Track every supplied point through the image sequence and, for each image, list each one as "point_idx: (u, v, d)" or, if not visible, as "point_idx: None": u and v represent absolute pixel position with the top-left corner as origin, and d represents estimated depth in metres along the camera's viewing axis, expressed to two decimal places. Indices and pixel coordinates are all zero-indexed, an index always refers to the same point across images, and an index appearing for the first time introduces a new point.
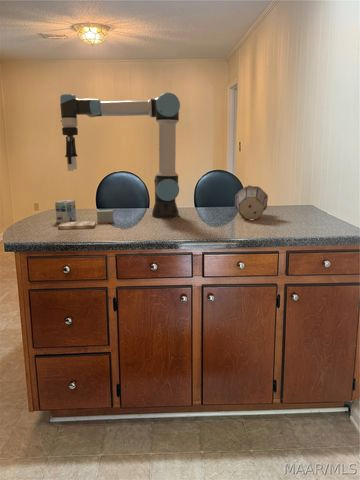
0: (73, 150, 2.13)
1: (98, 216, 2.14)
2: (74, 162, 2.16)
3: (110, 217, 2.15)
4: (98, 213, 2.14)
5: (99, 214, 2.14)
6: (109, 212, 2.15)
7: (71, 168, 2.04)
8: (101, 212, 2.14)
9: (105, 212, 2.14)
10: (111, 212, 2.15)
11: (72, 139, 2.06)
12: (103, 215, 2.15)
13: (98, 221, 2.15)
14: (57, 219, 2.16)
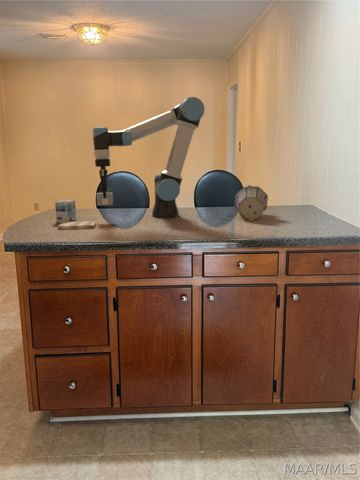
0: None
1: (98, 198, 2.12)
2: None
3: (110, 199, 2.13)
4: (98, 195, 2.12)
5: (98, 196, 2.12)
6: (108, 194, 2.13)
7: (106, 202, 2.13)
8: (101, 194, 2.12)
9: None
10: (111, 194, 2.13)
11: (105, 171, 2.10)
12: None
13: (98, 204, 2.13)
14: (57, 219, 2.16)
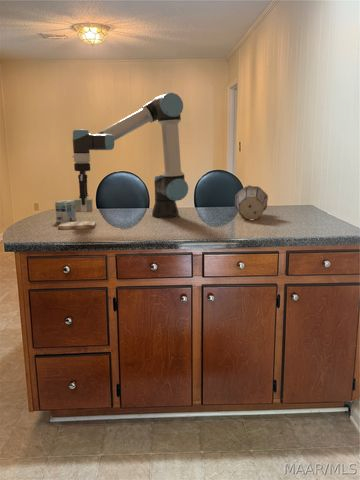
0: (84, 188, 2.03)
1: (76, 205, 2.00)
2: None
3: (89, 206, 2.01)
4: (76, 201, 2.00)
5: (76, 202, 2.00)
6: (87, 200, 2.00)
7: (84, 209, 2.00)
8: (79, 200, 2.00)
9: None
10: (90, 201, 2.00)
11: (84, 176, 1.98)
12: None
13: (76, 210, 2.00)
14: (57, 219, 2.16)
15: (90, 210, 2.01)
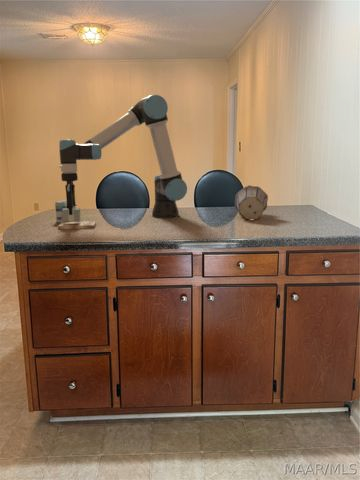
0: (72, 197, 2.04)
1: (63, 214, 2.00)
2: None
3: (76, 216, 2.01)
4: (63, 211, 2.00)
5: (64, 212, 2.00)
6: (75, 210, 2.00)
7: (72, 219, 2.00)
8: (66, 210, 2.00)
9: None
10: (77, 210, 2.01)
11: (72, 186, 1.98)
12: None
13: (63, 220, 2.01)
14: (57, 219, 2.16)
15: (78, 220, 2.02)
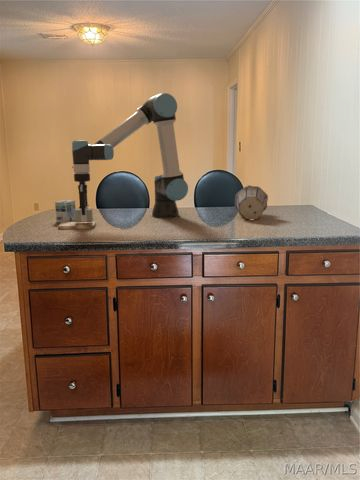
0: (84, 198, 2.04)
1: (76, 215, 2.01)
2: None
3: (89, 216, 2.02)
4: (76, 212, 2.01)
5: (77, 213, 2.01)
6: (87, 210, 2.01)
7: (85, 219, 2.01)
8: (79, 211, 2.01)
9: None
10: (90, 211, 2.01)
11: (84, 186, 1.99)
12: None
13: (76, 220, 2.02)
14: (57, 219, 2.16)
15: (90, 220, 2.02)
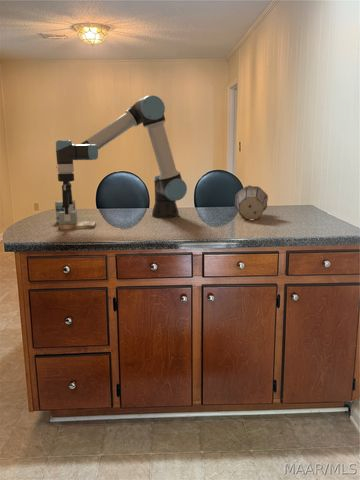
0: (69, 197, 2.05)
1: (60, 218, 2.00)
2: (70, 210, 2.07)
3: (73, 219, 2.01)
4: (60, 214, 2.00)
5: (61, 215, 2.00)
6: (71, 213, 2.01)
7: (68, 218, 1.98)
8: (63, 213, 2.00)
9: None
10: (74, 213, 2.01)
11: (68, 186, 1.98)
12: None
13: (60, 223, 2.01)
14: (57, 219, 2.16)
15: (74, 223, 2.02)
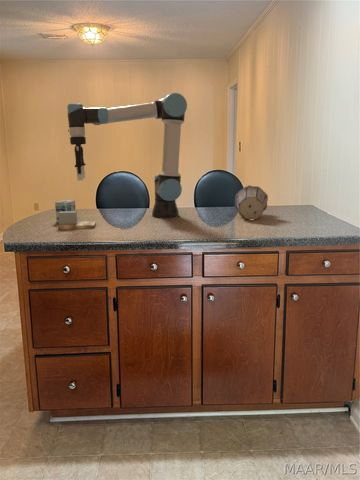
0: (81, 159, 2.12)
1: (60, 218, 2.00)
2: (82, 171, 2.15)
3: (73, 219, 2.01)
4: (60, 214, 2.00)
5: (61, 215, 2.00)
6: (71, 213, 2.01)
7: (81, 178, 2.02)
8: (63, 213, 2.00)
9: (67, 213, 2.00)
10: (74, 213, 2.01)
11: (80, 148, 2.04)
12: (65, 217, 2.01)
13: (60, 223, 2.01)
14: (57, 219, 2.16)
15: (74, 223, 2.02)
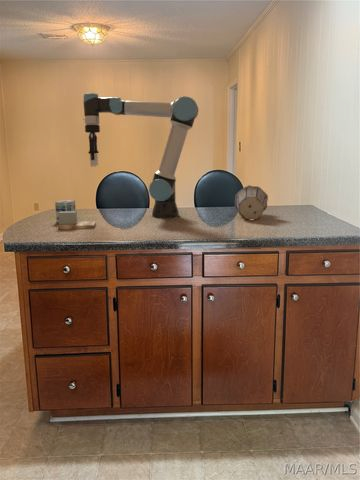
0: (95, 147, 2.22)
1: (60, 218, 2.00)
2: (95, 158, 2.25)
3: (73, 219, 2.01)
4: (60, 214, 2.00)
5: (61, 215, 2.00)
6: (71, 213, 2.01)
7: (94, 164, 2.13)
8: (63, 213, 2.00)
9: (67, 213, 2.00)
10: (74, 213, 2.01)
11: None
12: (65, 217, 2.01)
13: (60, 223, 2.01)
14: (57, 219, 2.16)
15: (74, 223, 2.02)
